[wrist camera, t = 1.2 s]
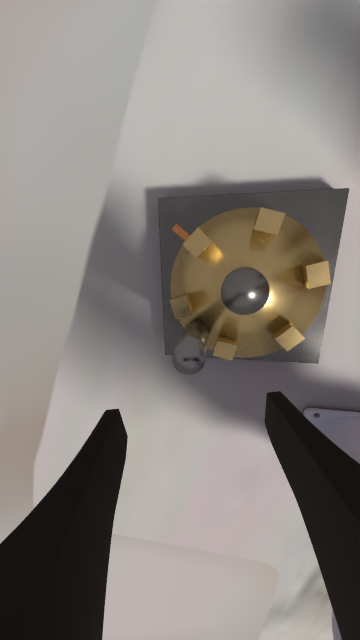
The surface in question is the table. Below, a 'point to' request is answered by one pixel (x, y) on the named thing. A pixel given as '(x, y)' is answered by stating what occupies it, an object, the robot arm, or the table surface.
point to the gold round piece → (245, 286)
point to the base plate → (303, 206)
